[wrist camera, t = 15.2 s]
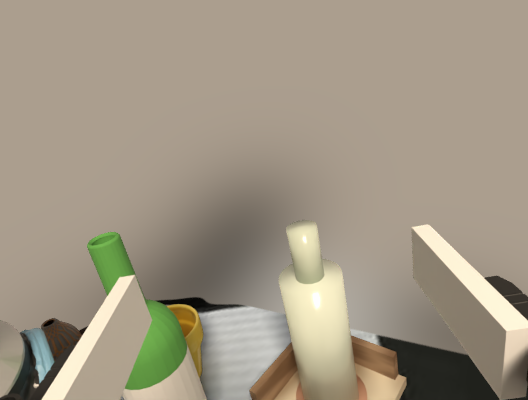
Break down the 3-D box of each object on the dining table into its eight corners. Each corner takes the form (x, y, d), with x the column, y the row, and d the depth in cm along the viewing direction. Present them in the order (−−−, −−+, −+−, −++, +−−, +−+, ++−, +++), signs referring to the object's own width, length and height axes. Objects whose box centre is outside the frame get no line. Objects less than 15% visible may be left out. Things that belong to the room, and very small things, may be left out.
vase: (88, 341, 67) (70, 303, 64) (90, 363, 62) (70, 323, 58) (48, 359, 65) (27, 321, 62) (46, 384, 59) (24, 344, 56)
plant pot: (220, 347, 59) (205, 299, 55) (206, 403, 49) (187, 350, 46) (162, 353, 60) (144, 306, 57) (137, 408, 51) (113, 356, 47)
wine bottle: (193, 504, 38) (90, 266, 27) (145, 473, 42) (39, 256, 31) (234, 438, 44) (162, 221, 33) (188, 416, 48) (111, 217, 37)
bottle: (293, 402, 45) (254, 237, 37) (321, 364, 50) (293, 209, 41) (342, 430, 41) (311, 249, 32) (368, 385, 45) (347, 217, 37)
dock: (257, 418, 46) (249, 390, 44) (315, 345, 55) (310, 320, 53) (357, 485, 36) (352, 452, 35) (406, 384, 46) (404, 355, 44)
